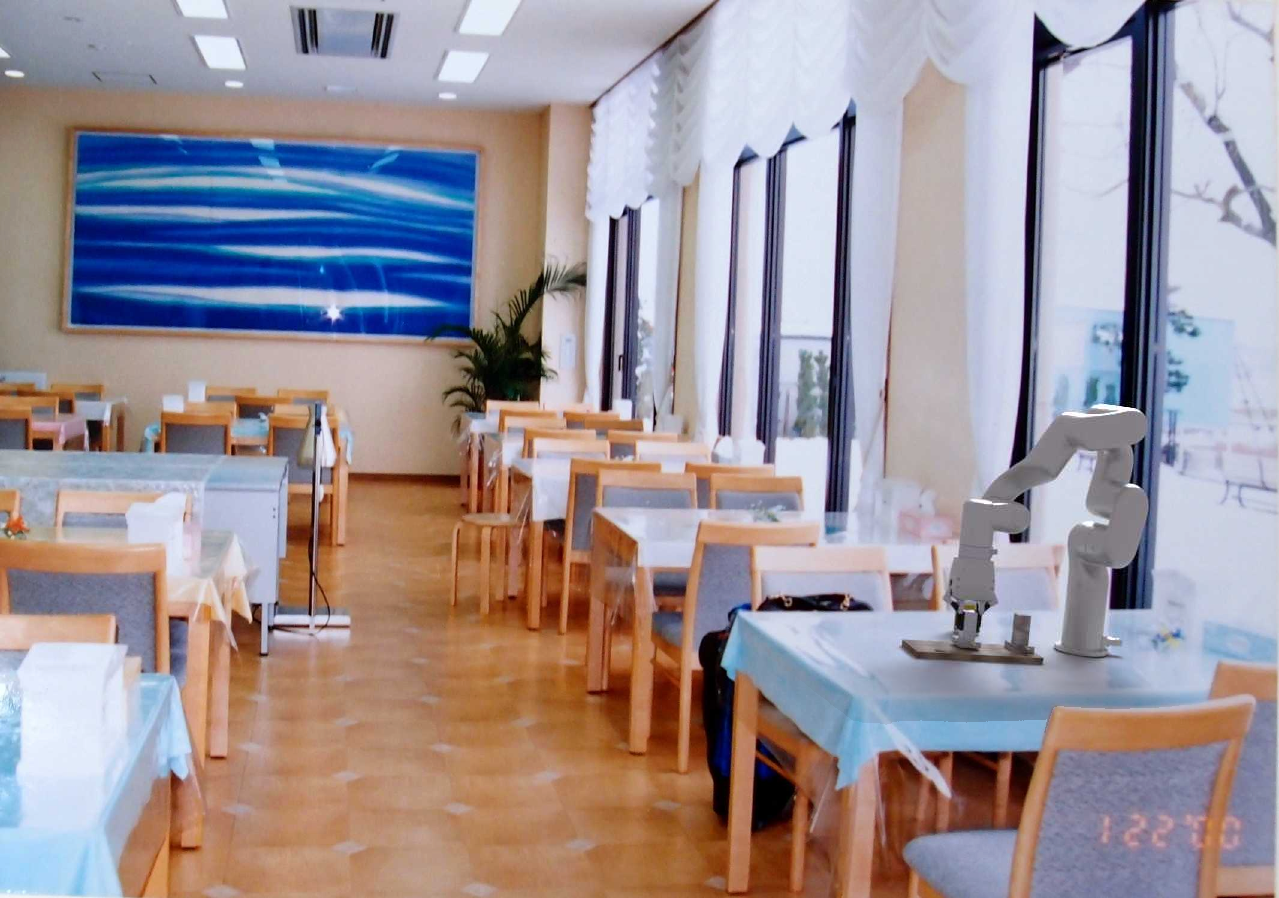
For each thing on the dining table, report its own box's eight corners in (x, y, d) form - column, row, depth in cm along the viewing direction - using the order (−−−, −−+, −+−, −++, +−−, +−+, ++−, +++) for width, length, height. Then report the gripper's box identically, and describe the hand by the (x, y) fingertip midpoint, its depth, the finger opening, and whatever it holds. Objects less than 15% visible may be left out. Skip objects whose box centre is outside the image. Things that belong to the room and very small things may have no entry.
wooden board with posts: (1023, 651, 339) (1027, 610, 338) (1042, 664, 327) (1047, 621, 326) (901, 645, 335) (905, 603, 334) (916, 657, 323) (920, 614, 323)
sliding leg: (971, 642, 335) (975, 609, 335) (985, 651, 327) (988, 617, 326) (951, 641, 335) (954, 607, 334) (964, 650, 326) (967, 616, 325)
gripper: (1003, 551, 335) (995, 628, 337) (936, 547, 333) (928, 624, 335) (1014, 557, 327) (1006, 635, 329) (946, 553, 326) (938, 631, 327)
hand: (967, 629), depth 332 cm, fingers closed on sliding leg, 3 cm apart
